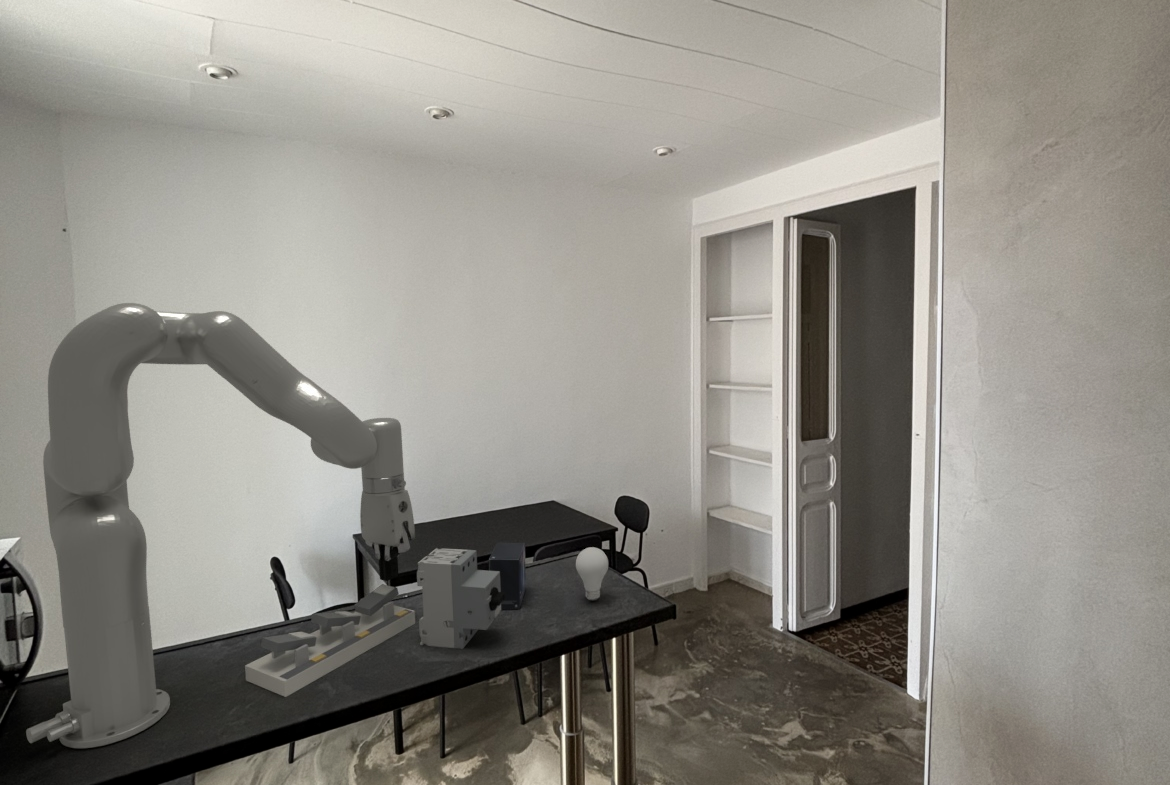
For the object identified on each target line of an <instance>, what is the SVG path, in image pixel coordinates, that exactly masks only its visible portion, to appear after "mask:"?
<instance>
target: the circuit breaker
mask: <svg viewBox="0 0 1170 785" xmlns="http://www.w3.org/2000/svg"><path fill="white" fill-rule="evenodd" d="M477 554H478V553H477V550H475V549H463V548H462V549H460V548H459V549H458V548H438V547H436V548H435V549H434V550H432V551H431V552H430V553H428V555H426V556H424V557H423V558H422V559H421V560H420V561H418V562H417V565H418V566H417V568H418V569H417V570H416V582H417V584H416V585H417V587H421V590H422V611H423V616H421V618H419V619H418V625H419V627H418V628H419V630H418V631H419V638H420V642H419V645H420V646H423V645H426V646H427V647H438V648H451V649H462V650H463V649H464V648H465V647H466V646H467V645H468V643H469V642H470V641H471V639H473V637H474V636H475V635H476V633H477V632H478V630H484V631H487V630H488V629H489V627H490V626H491V624H492V623H493V622H494V620H495V619H496V618H497V617H498V616H499V614H500V613H501V611H502V609H501V603H502V601H504V599H505V598H506V597H505V592H501V587H500V571H489V570H487V569H486V570H483V569H478V556H477Z"/></svg>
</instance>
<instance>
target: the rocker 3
mask: <svg viewBox="0 0 1170 785" xmlns="http://www.w3.org/2000/svg"><path fill="white" fill-rule="evenodd" d="M397 596H399V588H398V587H395V586H391V585H388V584H380V585H379V586H378V587H376V588H375V589H374V590H372V591H371V592H369V593H368V594H367V595H365V596H364V597H362V598H363V599H362V598H361V599H362V600H358V601H356V603H355V604H353V607H354V612H358V613H362V614H365V615H369V616H372V615H373V614H374V613H375V612H377V611H378V610H379V609H381V608H382V607H383V605H385V604H387V603H389V602H391V601H392V600H393V599H395V598H396V597H397Z"/></svg>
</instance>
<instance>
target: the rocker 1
mask: <svg viewBox="0 0 1170 785" xmlns="http://www.w3.org/2000/svg"><path fill="white" fill-rule="evenodd" d="M310 634H311V633H308V632H304V631H297V632H288V633H287V634H285V633H284V634H279V635H278V634H277V635H272V636H265V637H262V638H261V644H260V648H263V649H265V650H267V651H271V652H272V651H273V652H276V653H278V652H284V651H290V650H295V649H297V648H299V647H301V646H303V645H305V644H307V645H308V647H313V646H315V644H316V638H317V637H314V636H313V635H310Z"/></svg>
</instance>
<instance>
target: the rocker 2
mask: <svg viewBox="0 0 1170 785" xmlns="http://www.w3.org/2000/svg"><path fill="white" fill-rule="evenodd" d="M360 617H361V616H358V615H357V614H354V612H350V611H347V610H346V611H344V610H343V611H334V612H322V613H321V612H317V613H312V615H311V620H310V623H312V624H316V625H318V626H319V625H321V626H324V627H335V626H343V625H345V624H347V623H349V622H351V621H353V622H354V625H359V622H360Z"/></svg>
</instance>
